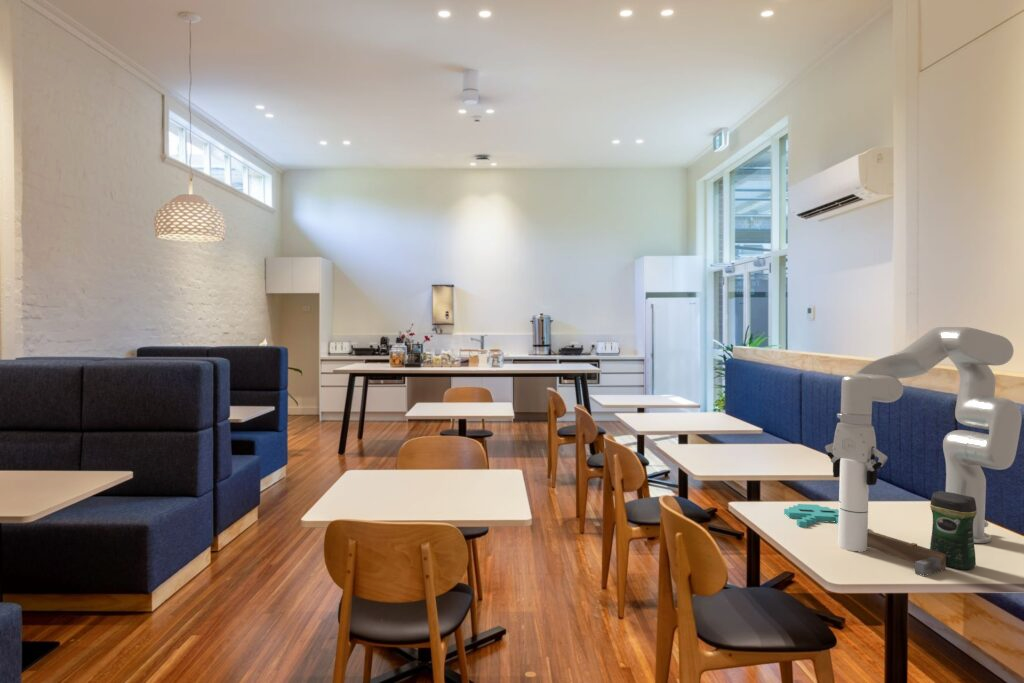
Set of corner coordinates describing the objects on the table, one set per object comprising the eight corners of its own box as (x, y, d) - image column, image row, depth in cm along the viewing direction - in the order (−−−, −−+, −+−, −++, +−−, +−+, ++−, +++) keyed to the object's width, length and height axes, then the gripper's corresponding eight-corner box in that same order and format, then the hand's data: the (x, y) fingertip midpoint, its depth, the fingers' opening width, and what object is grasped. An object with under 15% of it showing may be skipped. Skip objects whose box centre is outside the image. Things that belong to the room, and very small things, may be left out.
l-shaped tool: (844, 536, 178) (845, 522, 177) (945, 569, 154) (946, 552, 154) (822, 541, 173) (823, 526, 173) (923, 576, 149) (924, 559, 149)
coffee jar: (979, 566, 156) (982, 495, 156) (967, 573, 151) (969, 500, 151) (937, 554, 164) (939, 487, 164) (924, 560, 160) (926, 491, 159)
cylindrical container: (861, 544, 171) (864, 456, 171) (870, 553, 164) (873, 462, 164) (834, 541, 173) (836, 455, 172) (842, 550, 166) (844, 460, 166)
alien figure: (867, 531, 184) (838, 512, 204) (867, 524, 184) (838, 505, 204) (799, 528, 186) (777, 509, 206) (799, 521, 186) (777, 502, 206)
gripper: (818, 416, 174) (817, 475, 174) (879, 425, 159) (877, 489, 159) (835, 414, 177) (833, 472, 178) (895, 423, 162) (893, 486, 162)
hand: (854, 480), depth 168 cm, fingers open, 9 cm apart
